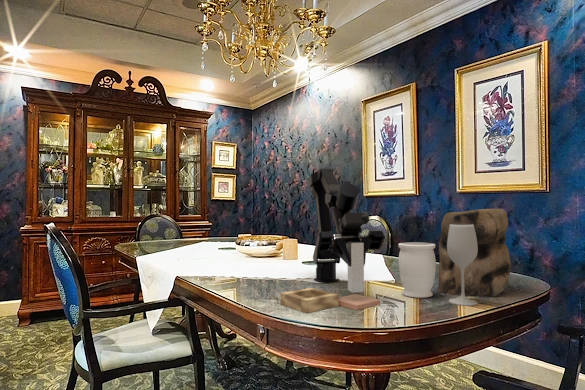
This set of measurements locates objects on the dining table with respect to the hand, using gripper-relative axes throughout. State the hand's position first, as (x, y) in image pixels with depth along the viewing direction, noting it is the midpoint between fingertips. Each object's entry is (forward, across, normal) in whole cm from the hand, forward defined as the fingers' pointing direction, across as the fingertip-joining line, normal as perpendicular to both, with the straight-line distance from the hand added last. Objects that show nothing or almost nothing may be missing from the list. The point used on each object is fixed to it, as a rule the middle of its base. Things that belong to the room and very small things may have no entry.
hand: (357, 265), depth 105 cm
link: (+4, 0, +6) cm, 7 cm away
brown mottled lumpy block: (0, +41, +15) cm, 44 cm away
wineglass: (+10, +29, +6) cm, 31 cm away
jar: (+2, +21, +13) cm, 25 cm away
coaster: (+7, 0, +8) cm, 11 cm away
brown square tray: (+6, -12, +9) cm, 17 cm away
